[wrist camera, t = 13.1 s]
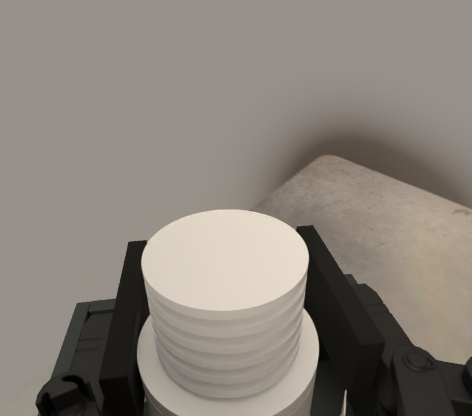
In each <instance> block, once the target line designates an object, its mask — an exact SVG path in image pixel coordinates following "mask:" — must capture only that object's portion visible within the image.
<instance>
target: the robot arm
mask: <svg viewBox="0 0 472 416" xmlns="http://www.w3.org/2000/svg"><path fill="white" fill-rule="evenodd" d="M296 232H297V233H298V234H299V235H300V236H301V237H302V239H303V240H304V242H305V244H306V246H307V249H308V254H309V262H308V271H307V281H306V289H305V299H304V300H305V303H306V305H307V307H308V310H309V312H310V314H311V316H312V319H313V321H314V323H315V326H316V328H317V330H318V333H319V335H320V337H321V339H322V342H323V344H324V346H325V349H326V351H327V353H328V356H329V358H330V360H331V362H332V365H333V367H334V369H335V372H336V374H337V376H338V379H339V381H340V383H341V385H342V388H343V390H344V392H345V390H346V391H347V394H346V397H347V399H348V401H355V400H361V399H368V398H370V397H371V393H372V390H373V388H374V390H375V392H376V393H377V395H378V397H379V401H378V405H377V408H376V411H375V415H374V416H472V357H471V358H470V359H469V360H468V361H467V363H466V365H461V364H455V363H449V362H443V361H438V360H435V358H434V357H433V356H432V355H430V354H429V353H428V352H427V351H425V350H423V349H421V348H420V347H416V346H414V345H413V344H412V343H411V341H410V340H409V338H408V337H407V335H406V334H405V333H404V331H403V330H402V328H401V327H400V325H399V324H398V323H397V321H396V320H395V318H394V317H393V315H392V314H391V313H389V310H388V308H387V307H386V306H385V304H383V301H382V300H381V298H380V297H379V296H378V294H377V293H376V292H375V291H374V290H373V289H371V288H370V287H369V286H367V285H366V284H356V285H350V284H349V282H348V281H347V279H346V277H345V276H344V274H343V273H342V271H341V269H340V268H339V266H338V265H337V263H336V261H335V260H334V258H333V257H332V255H331V253H330V252H329V250H328V249H327V247H326V245H325V244H324V242H323V241H322V239H321V237H320V236H319V234H318V233H317V231H316V229H315V228H314V226H313V225H311V226H299V227H297V230H296ZM146 245H147V241H146V240H144V241H132V242H128V247H127V252H126V256H125V261H124V265H123V270H122V274H121V279H120V284H119V288H118V292H117V297H116V302H115V306H114V311H113V313H104V314H95V315H91V316H90V318H89V319H88V320H87V321H86V323H85V324H84V325H83V326H82V329H81V332H80V336H79V339H78V342H77V345H76V349H75V352H74V355H73V358H72V362H71V365H70V368H69V371H68V372H64V373H61V374H59V375H57V376H55V377H53V378H51V379H50V380H49V381H48V382H47V383H46V384H45V385H44V386H43V387H42V389H41V390H40V392H39V394H38V395H37V400H36V407H37V409H38V411H39V413H40V415H41V416H143V414H144V403H145V392H144V388H143V384H142V379H141V375H140V371H139V367H138V361H137V347H138V340H139V336H140V333H141V330H142V328H143V326H144V324H145V322H146V320H147V319H148V317H149V315H150V310H149V304H148V298H147V293H146V288H145V282H144V277H143V271H142V265H141V259H142V254H143V251H144V249H145V247H146Z"/></svg>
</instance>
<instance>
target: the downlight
mask: <svg viewBox="0 0 472 416" xmlns="http://www.w3.org/2000/svg"><path fill="white" fill-rule="evenodd" d="M308 262H309V254H308V249H307V246H306V244H305V242H304V240H303V239H302V237H301V236H300V235H299V234H298V233H297V232H296V231H295V230H294V229H293V228H291V227H290V226H289V225H287V224H285V223H284V222H282V221H280V220H278V219H276V218H273V217H271V216H268V215H265V214H261V213H257V212H252V211H245V210H213V211H206V212H201V213H196V214H193V215H189V216H186V217H183V218H181V219H178V220H176V221H174V222H172V223H170V224H168V225H167V226H165V227H164V228H162V229H161V230H160V231H158V232H157V233H156V234H155V235H154V236H153V237H152V238H151V239H150V241H149V242H148V243H147V245H146V247H145V249H144V251H143V254H142V259H141V265H142V271H143V277H144V282H145V288H146V293H147V298H148V304H149V310H150V315H149V317H148V319H147V320H146V322H145V324H144V326H143V328H142V330H141V333H140V336H139V340H138V347H137V361H138V367H139V371H140V375H141V379H142V384H143V388H144V392H145V401H147V405H148V410H149V414H150V416H310V409H311V402H312V396H313V389H314V383H315V376H316V369H317V364H318V357H319V341H318V335H317V332H316V328H315V326H314V323H313V321H312V319H311V318H310V316H309V314H308V313H307V311H306V310H305V309H304V299H305V289H306V281H307V271H308ZM346 394H347V391H346V390H345V395H344V401H343V408H342V414H341V415H340V416H345V410H346Z"/></svg>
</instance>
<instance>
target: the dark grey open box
mask: <svg viewBox="0 0 472 416" xmlns="http://www.w3.org/2000/svg"><path fill="white" fill-rule="evenodd" d="M344 276H345V277H346V279H347V281H348V282H349V284H350V285H356V284H358V283H357V282H356V280H355V279H354V277H353V276H352V274H346V275H344ZM115 302H116V299H108V300H99V301H92V302H82V303H77V305H76V307H75V310H74V313H73V316H72V319H71V322H70V325H69V327H68V330H67V333H66V336H65V339H64V342H63V345H62V347H61V350H60V353H59V356H58V359H57V362H56V365H55V367H54V370H53V373H52V376H51V378H53V377H55V376H57V375H59V374H61V373H64V372H68V371H69V368H70V365H71V362H72V358H73V355H74V352H75V349H76V345H77V342H78V339H79V336H80V332H81V329H82V326H83V325H84V324H85V323H86V321H87V320H88V319H89V318H90V316H91V315H95V314H104V313H113V311H114V306H115ZM304 309H305V310H306V311H307V313H308V314H309V316H310V318H311V319H312V316H311V314H310V312H309V310H308V307H307V305H306V303H305V300H304ZM312 321H313V319H312ZM313 323H314V321H313ZM314 326H315V323H314ZM315 328H316V326H315ZM316 332H317V335H318V341H319V357H318V364H317V369H316V376H315V383H314V389H313V396H312V402H311V409H310V416H340V415H341V414H342V408H343V401H344V395H345V392H344V390H343V388H342V385H341V383H340V381H339V379H338V376H337V374H336V372H335V369H334V367H333V365H332V362H331V360H330V358H329V356H328V353H327V351H326V349H325V346H324V344H323V342H322V339H321V337H320V335H319V333H318V330H317V328H316ZM378 401H379V397H378V395H377V393H376V392H375V390H374V388H373V390H372V393H371V397H370V398H368V399H361V400H355V401H348V399H347V397H346V410H345V416H374V415H375V411H376V408H377V405H378ZM38 416H41V415H40V413H38ZM143 416H150V414H149V410H148V405H147V401H145V403H144V414H143Z"/></svg>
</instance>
